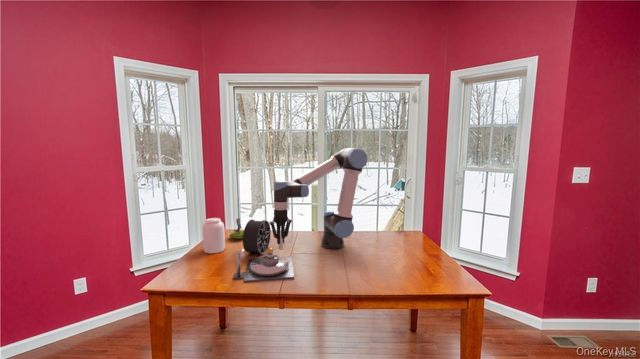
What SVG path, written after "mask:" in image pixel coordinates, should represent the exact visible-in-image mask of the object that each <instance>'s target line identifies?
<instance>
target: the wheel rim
mask: <svg viewBox="0 0 640 359" xmlns="http://www.w3.org/2000/svg"><path fill="white" fill-rule="evenodd" d="M269 222H270V221H268V220H266V219H264V220H254V219H249V220H248V221H247V223H246V224H245V227H244V230H243V231H244V233H243V238H242V246H243V250H244V252H245V253H253V252H254V253H258V254H260V255H263V254H265V253H267V248H269V247H270V246H269V245H270V241H271V235H272V234H271V230H272V228H271V225H270V223H269Z"/></svg>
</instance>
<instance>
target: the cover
mask: <svg viewBox="0 0 640 359" xmlns="http://www.w3.org/2000/svg"><path fill="white" fill-rule="evenodd" d="M278 256H279V255H277V254H275V252H273V253H267V252H266V255H264V256H262V257H263V265H265V266H275V265H277V264H278V263H279V259H278Z"/></svg>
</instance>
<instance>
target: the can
mask: <svg viewBox="0 0 640 359" xmlns="http://www.w3.org/2000/svg"><path fill="white" fill-rule="evenodd" d="M225 236H226V235H225V224H224V222H223V221H221V218H220V217H210V218H207V219H205V223H203V225H202V244H203V252H204V253H205V254H218V253H221V252H223V251H225V249H226V240H225V238H226V237H225Z"/></svg>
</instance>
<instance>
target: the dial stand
mask: <svg viewBox="0 0 640 359" xmlns="http://www.w3.org/2000/svg"><path fill="white" fill-rule="evenodd" d="M241 259H242V260H244V259H245V249H240V250H239V251H236V272H234V274H233V277H232V280H244V277H245V273H246V271H244V272H242V270H241Z"/></svg>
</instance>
